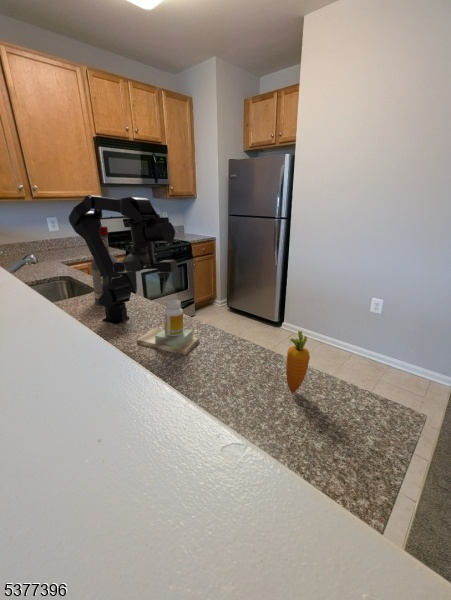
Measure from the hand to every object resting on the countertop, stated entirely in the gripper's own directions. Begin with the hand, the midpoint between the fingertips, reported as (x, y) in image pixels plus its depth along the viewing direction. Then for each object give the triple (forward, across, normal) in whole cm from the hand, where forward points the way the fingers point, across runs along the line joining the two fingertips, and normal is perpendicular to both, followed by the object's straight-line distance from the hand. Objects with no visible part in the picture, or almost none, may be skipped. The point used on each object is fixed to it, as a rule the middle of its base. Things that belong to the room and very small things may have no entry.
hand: (148, 293), depth 86 cm
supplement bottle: (+11, +10, -5) cm, 15 cm away
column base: (+14, +8, -5) cm, 17 cm away
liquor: (+10, -29, +20) cm, 37 cm away
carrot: (+18, +44, -19) cm, 51 cm away
